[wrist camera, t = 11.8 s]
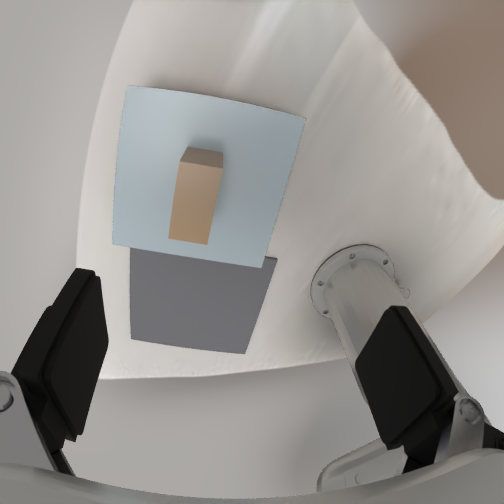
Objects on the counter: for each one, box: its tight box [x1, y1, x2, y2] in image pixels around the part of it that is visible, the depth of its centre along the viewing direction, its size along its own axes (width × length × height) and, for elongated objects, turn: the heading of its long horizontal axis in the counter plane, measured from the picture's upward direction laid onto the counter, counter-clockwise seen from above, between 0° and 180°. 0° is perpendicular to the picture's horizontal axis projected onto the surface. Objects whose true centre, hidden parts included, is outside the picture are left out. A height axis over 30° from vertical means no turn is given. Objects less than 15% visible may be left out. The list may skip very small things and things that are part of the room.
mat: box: [130, 247, 277, 354], centre depth 40 cm, size 18×18×1 cm
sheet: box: [112, 86, 306, 268], centre depth 23 cm, size 15×15×6 cm
